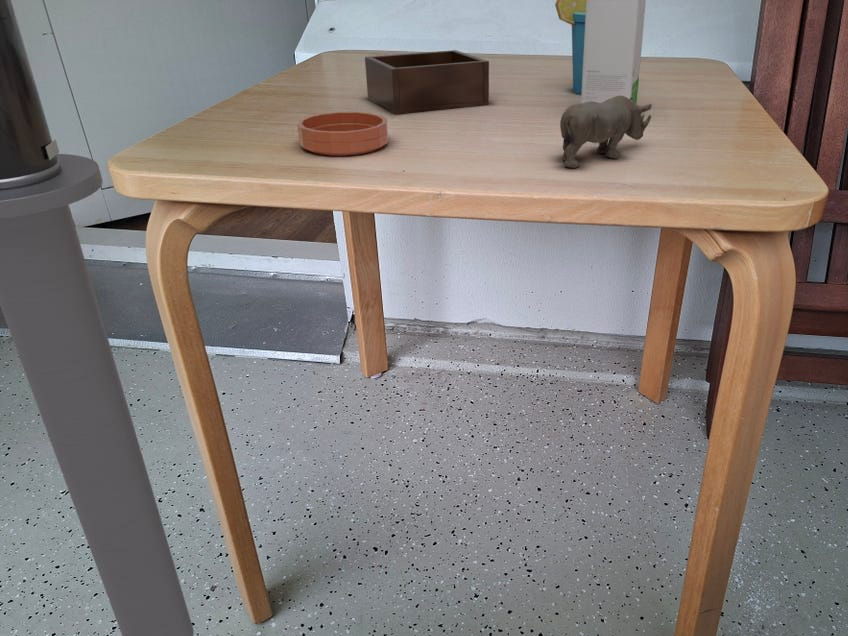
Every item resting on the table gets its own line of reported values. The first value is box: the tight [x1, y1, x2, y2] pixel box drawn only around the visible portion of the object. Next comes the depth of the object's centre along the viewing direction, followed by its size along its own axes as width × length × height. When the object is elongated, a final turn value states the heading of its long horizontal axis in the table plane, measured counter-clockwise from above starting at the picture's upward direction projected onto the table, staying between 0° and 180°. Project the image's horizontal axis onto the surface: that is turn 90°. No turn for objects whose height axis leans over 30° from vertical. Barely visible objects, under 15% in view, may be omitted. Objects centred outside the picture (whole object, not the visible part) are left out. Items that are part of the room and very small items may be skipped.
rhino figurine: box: [559, 95, 653, 169], centre depth 78 cm, size 4×14×6 cm, turn 129°
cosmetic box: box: [580, 0, 647, 105], centre depth 92 cm, size 8×7×16 cm
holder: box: [364, 49, 490, 115], centre depth 101 cm, size 14×11×6 cm
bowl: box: [296, 111, 389, 157], centre depth 82 cm, size 10×10×3 cm
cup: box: [555, 0, 586, 95], centre depth 105 cm, size 14×8×15 cm, turn 119°
